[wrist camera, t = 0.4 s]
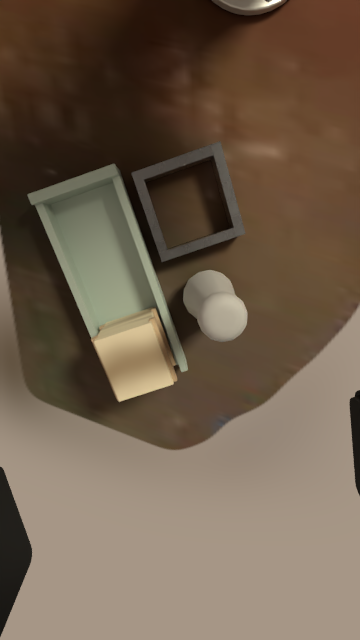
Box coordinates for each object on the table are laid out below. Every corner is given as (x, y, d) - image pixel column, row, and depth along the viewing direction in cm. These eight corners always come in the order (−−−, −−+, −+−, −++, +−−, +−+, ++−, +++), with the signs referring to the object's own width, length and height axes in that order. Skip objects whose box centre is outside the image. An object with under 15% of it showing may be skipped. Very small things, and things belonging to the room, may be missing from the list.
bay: (41, 197, 38) (27, 194, 34) (119, 170, 37) (114, 163, 33) (118, 382, 44) (113, 397, 40) (186, 360, 43) (188, 373, 39)
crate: (102, 323, 41) (89, 342, 34) (156, 304, 40) (154, 320, 34) (123, 375, 43) (115, 403, 36) (175, 358, 42) (177, 383, 36)
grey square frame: (133, 176, 37) (131, 172, 35) (216, 146, 37) (220, 141, 35) (162, 260, 40) (161, 262, 37) (240, 233, 39) (245, 233, 37)
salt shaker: (176, 309, 41) (181, 344, 29) (188, 262, 40) (199, 278, 27) (223, 320, 42) (247, 359, 29) (236, 274, 41) (268, 295, 28)
